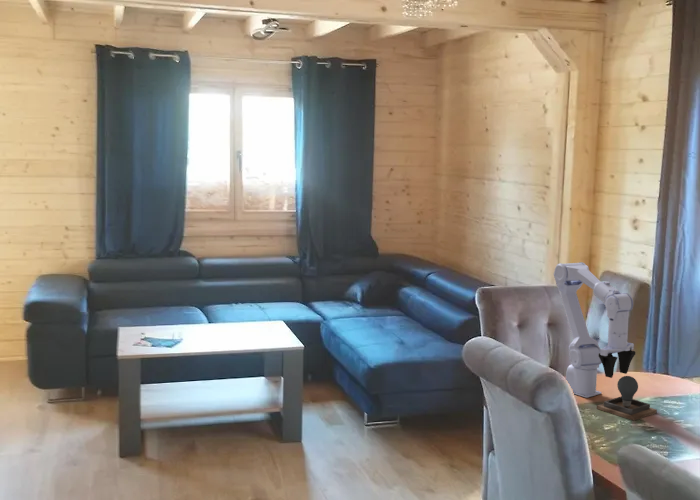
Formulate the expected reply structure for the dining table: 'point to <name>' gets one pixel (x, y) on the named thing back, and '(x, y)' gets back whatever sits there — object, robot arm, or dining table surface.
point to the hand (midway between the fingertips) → (616, 375)
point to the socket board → (632, 412)
